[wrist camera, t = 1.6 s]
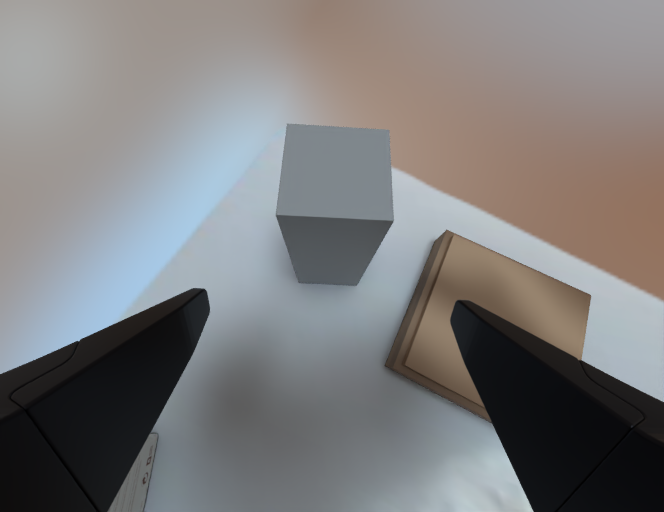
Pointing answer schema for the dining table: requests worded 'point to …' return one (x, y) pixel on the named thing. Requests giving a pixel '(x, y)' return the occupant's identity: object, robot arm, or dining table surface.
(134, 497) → the supplement box
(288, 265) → the dining table surface
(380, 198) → the block
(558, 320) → the walnut stand
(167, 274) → the dining table surface
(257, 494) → the dining table surface
